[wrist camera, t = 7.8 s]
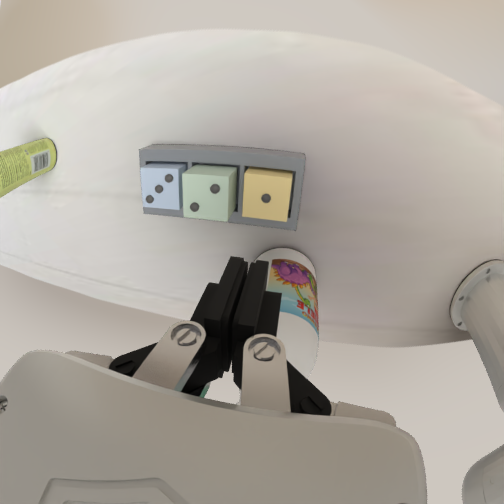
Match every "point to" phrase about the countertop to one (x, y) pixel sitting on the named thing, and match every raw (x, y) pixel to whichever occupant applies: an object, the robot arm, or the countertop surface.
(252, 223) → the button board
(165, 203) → the blue pip cube
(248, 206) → the single pip yellow cube
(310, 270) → the milk bottle
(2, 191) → the tube
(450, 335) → the countertop surface
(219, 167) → the pale green cube
